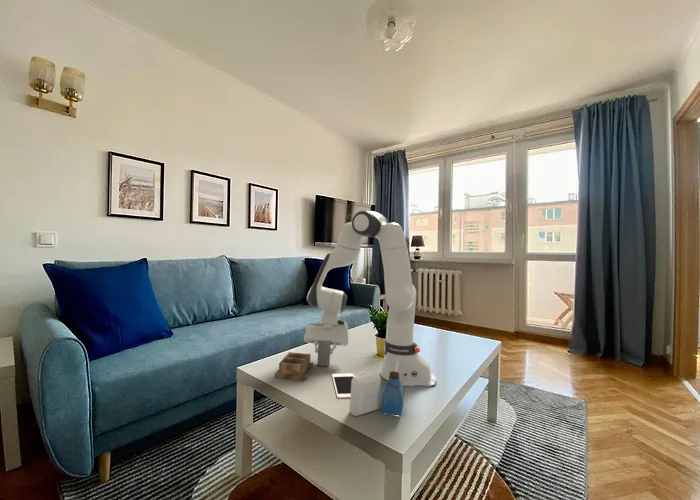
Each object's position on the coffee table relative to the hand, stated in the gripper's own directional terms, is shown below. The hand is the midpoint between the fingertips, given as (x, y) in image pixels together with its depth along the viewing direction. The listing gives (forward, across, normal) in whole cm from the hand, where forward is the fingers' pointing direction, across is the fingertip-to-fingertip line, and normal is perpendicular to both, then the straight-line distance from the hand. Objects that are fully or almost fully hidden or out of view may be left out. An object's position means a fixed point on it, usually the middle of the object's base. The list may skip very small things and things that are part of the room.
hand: (323, 352), depth 125 cm
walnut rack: (+10, -10, -2) cm, 14 cm away
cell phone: (+15, +12, -6) cm, 20 cm away
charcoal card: (+3, 0, +4) cm, 5 cm away
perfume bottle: (+24, +29, -16) cm, 41 cm away
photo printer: (+26, +20, -17) cm, 37 cm away
